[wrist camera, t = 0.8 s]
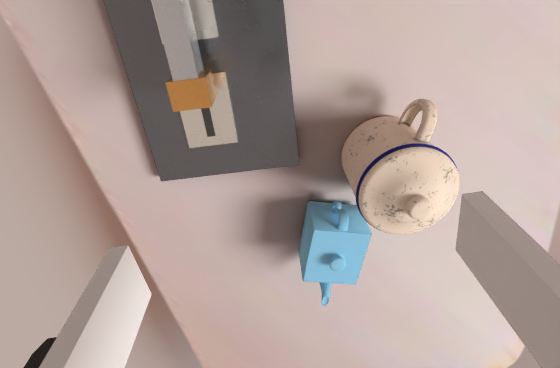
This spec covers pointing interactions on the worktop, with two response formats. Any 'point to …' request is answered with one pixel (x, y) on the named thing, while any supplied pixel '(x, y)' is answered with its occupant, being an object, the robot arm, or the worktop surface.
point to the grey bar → (183, 57)
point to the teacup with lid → (400, 171)
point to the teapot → (332, 244)
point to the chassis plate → (227, 81)
